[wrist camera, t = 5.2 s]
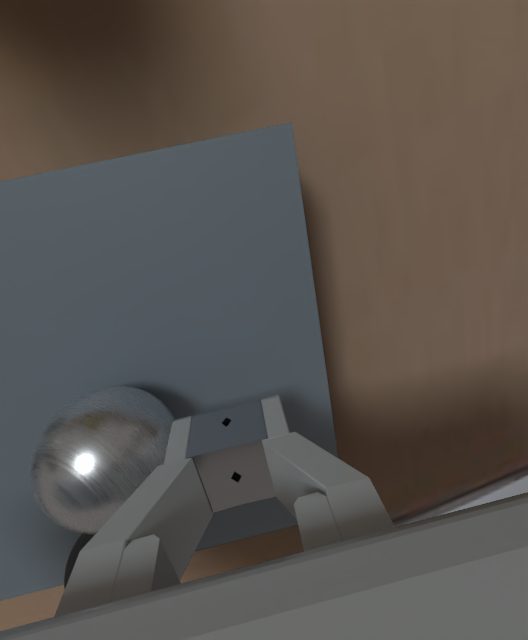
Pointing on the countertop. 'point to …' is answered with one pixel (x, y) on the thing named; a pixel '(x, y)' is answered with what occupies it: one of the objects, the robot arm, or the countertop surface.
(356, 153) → the countertop surface
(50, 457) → the steel ball
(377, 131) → the countertop surface
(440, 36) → the countertop surface
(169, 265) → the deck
